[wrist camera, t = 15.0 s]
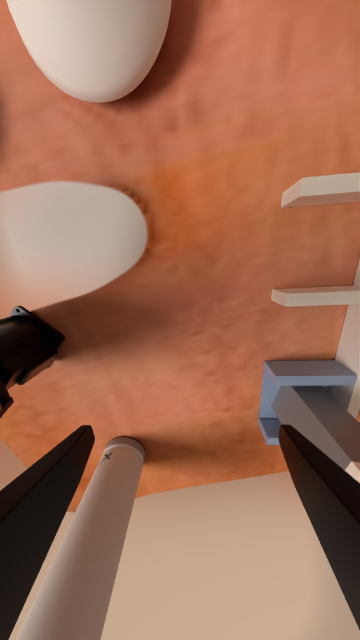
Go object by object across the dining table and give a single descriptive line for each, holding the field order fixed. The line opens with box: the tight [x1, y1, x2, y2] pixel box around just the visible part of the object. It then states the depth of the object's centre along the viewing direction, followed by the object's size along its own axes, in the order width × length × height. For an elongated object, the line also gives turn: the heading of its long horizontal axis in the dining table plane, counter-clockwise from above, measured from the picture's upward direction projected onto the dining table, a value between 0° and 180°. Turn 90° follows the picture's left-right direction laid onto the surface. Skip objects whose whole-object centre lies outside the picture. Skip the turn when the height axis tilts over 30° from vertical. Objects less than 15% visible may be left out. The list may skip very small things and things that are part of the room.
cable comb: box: [258, 172, 360, 445], centre depth 18 cm, size 27×9×3 cm, turn 3°
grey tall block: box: [271, 386, 360, 483], centre depth 16 cm, size 4×4×12 cm
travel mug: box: [16, 437, 145, 640], centre depth 18 cm, size 6×7×20 cm
